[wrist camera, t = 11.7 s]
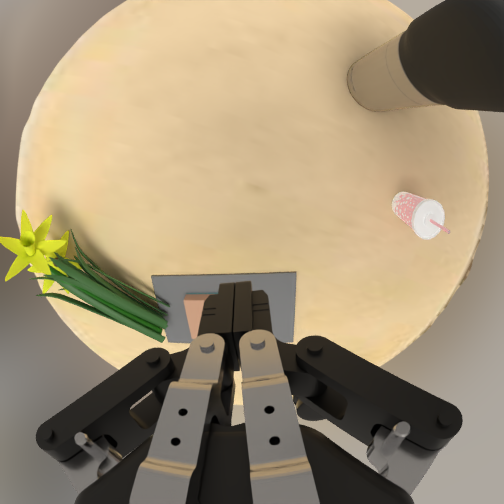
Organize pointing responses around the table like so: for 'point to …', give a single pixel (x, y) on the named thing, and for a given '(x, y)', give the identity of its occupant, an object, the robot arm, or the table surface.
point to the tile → (194, 310)
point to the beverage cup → (420, 214)
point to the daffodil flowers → (81, 280)
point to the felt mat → (176, 287)
